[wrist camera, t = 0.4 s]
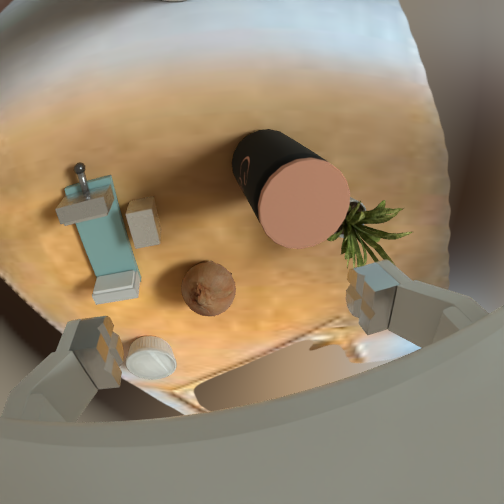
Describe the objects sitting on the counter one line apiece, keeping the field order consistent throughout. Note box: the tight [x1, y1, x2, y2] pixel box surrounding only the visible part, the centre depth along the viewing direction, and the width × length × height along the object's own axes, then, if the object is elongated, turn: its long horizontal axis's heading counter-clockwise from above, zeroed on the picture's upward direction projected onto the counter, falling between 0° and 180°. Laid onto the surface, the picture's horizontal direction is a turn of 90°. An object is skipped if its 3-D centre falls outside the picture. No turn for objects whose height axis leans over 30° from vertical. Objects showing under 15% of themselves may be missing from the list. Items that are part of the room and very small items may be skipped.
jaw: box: [55, 162, 114, 226], centre depth 38 cm, size 8×8×5 cm
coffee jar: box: [232, 129, 350, 249], centre depth 39 cm, size 11×11×18 cm
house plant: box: [327, 197, 412, 268], centre depth 48 cm, size 14×14×16 cm
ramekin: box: [126, 336, 176, 379], centre depth 62 cm, size 11×11×5 cm
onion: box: [181, 261, 236, 316], centre depth 52 cm, size 10×9×10 cm
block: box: [126, 196, 161, 249], centre depth 45 cm, size 6×4×5 cm, turn 4°
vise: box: [65, 175, 141, 305], centre depth 44 cm, size 20×8×6 cm, turn 4°
